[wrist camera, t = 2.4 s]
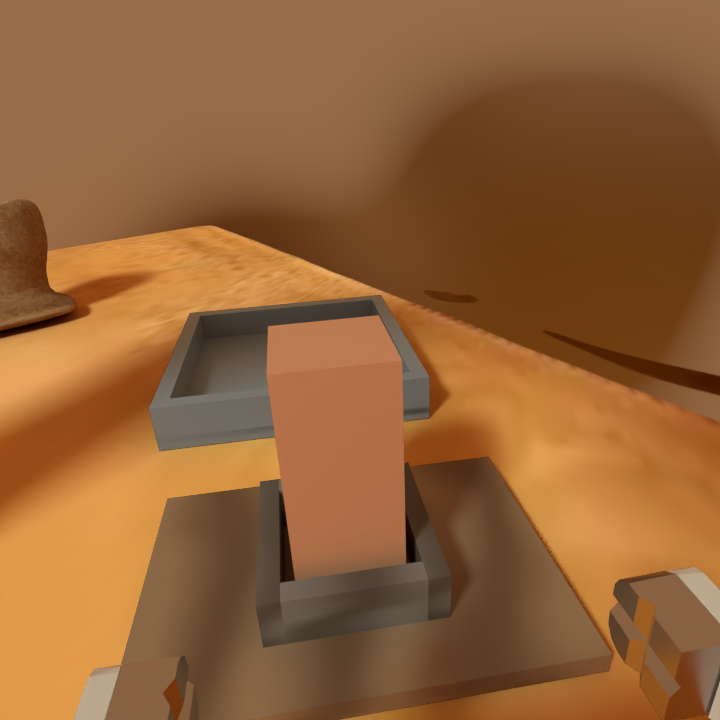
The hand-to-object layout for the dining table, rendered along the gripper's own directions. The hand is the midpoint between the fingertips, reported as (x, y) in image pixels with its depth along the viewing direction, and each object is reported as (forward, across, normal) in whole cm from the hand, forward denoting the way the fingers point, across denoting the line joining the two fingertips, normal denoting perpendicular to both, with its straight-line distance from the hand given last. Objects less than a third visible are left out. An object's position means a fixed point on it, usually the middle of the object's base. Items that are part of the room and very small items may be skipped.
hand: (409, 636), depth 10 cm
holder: (+14, 0, +12) cm, 18 cm away
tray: (+38, +2, +12) cm, 40 cm away
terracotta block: (+14, 0, +11) cm, 18 cm away
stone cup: (+60, +36, +12) cm, 72 cm away
